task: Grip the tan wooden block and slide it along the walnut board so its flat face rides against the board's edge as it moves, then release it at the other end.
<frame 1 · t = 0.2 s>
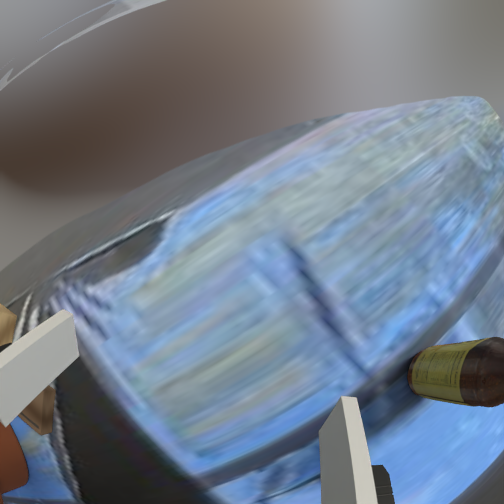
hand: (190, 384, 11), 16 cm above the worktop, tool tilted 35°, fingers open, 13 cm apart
board: (7, 374, 24), on the worktop
tan wooden block: (3, 326, 26), on the worktop
sauce bottle: (423, 370, 25), on the worktop
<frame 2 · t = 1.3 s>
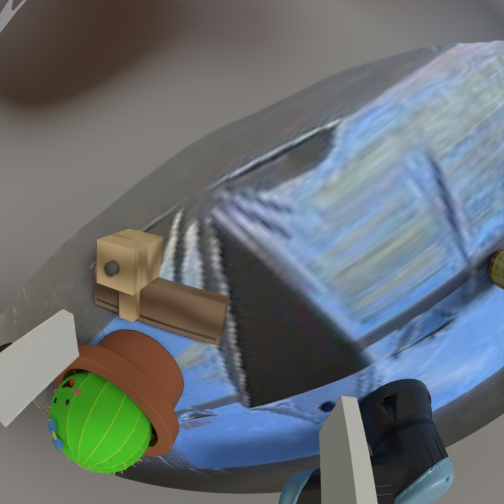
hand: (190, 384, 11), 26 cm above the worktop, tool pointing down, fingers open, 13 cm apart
board: (157, 298, 40), on the worktop
tan wooden block: (144, 252, 38), on the worktop
potted cactus: (142, 367, 44), on the worktop
sauce bottle: (496, 264, 31), on the worktop
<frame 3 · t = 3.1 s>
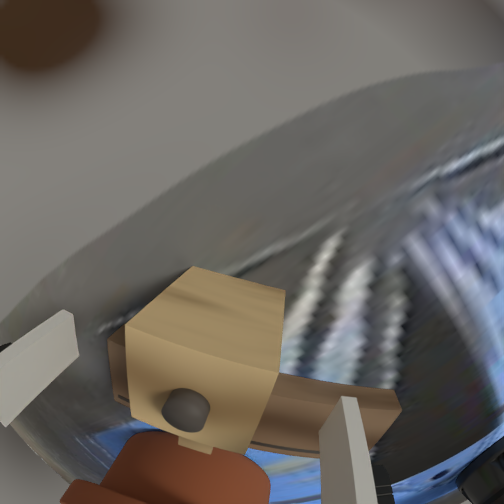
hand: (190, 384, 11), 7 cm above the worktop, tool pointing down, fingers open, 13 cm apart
board: (250, 399, 19), on the worktop
tan wooden block: (229, 319, 18), on the worktop
potted cactus: (197, 469, 24), on the worktop
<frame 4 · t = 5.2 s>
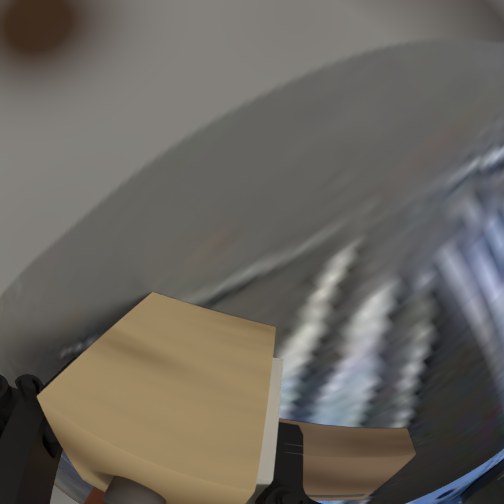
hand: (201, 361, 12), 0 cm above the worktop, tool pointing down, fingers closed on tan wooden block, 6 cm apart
board: (235, 441, 14), on the worktop
tan wooden block: (202, 359, 13), on the worktop, touching gripper
potted cactus: (184, 496, 19), on the worktop
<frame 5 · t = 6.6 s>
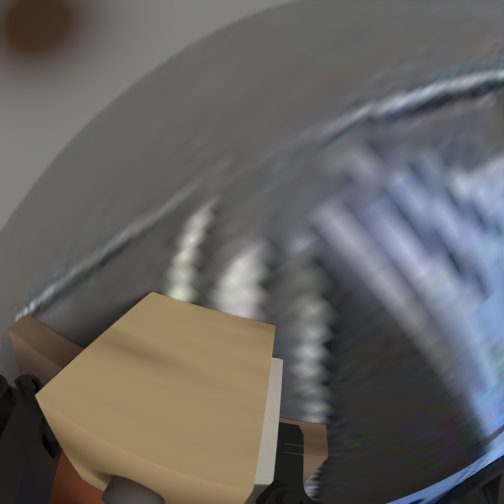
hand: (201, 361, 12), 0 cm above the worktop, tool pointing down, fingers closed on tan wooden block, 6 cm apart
board: (147, 411, 15), on the worktop
tan wooden block: (202, 359, 13), on the worktop, touching gripper
potted cactus: (131, 475, 20), on the worktop
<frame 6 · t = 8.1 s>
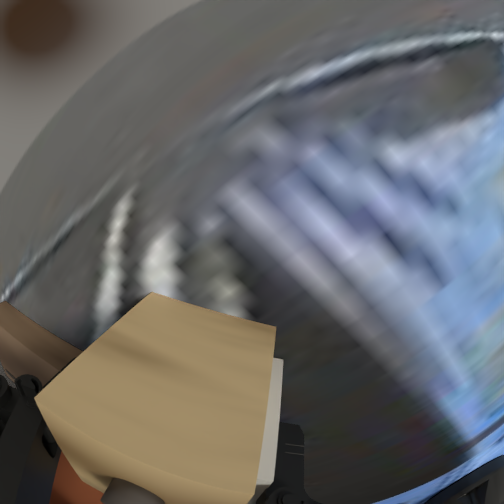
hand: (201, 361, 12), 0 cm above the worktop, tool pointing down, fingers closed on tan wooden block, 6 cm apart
board: (101, 393, 15), on the worktop
tan wooden block: (202, 359, 13), on the worktop, touching gripper
potted cactus: (103, 463, 20), on the worktop
when the fingers open (0 cm above the worktop, at t = 8.2 s): tan wooden block stays where it is, on the worktop.
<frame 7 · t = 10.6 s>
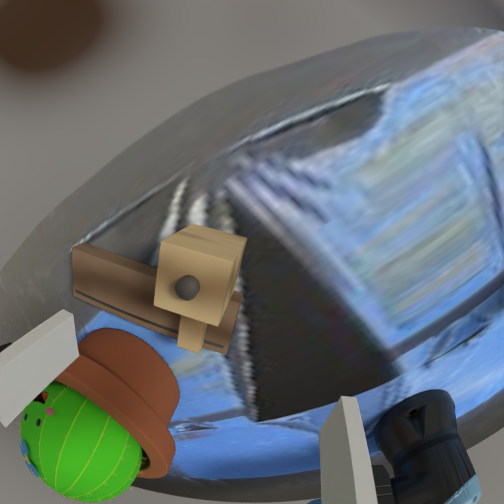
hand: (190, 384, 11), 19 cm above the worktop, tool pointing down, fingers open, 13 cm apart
board: (150, 292, 31), on the worktop
tan wooden block: (213, 257, 29), on the worktop
potted cactus: (130, 372, 36), on the worktop
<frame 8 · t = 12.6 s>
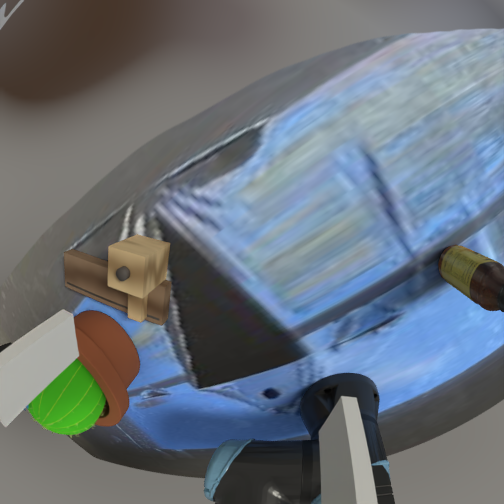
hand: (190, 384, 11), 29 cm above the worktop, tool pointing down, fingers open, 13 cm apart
board: (115, 282, 43), on the worktop
tan wooden block: (151, 256, 41), on the worktop
potted cactus: (106, 345, 48), on the worktop
sauce bottle: (449, 260, 35), on the worktop
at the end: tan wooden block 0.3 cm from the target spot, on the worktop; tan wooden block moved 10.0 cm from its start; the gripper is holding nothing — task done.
